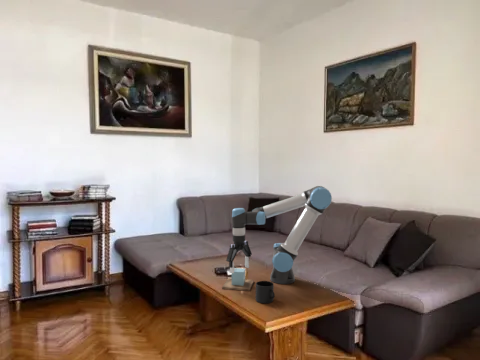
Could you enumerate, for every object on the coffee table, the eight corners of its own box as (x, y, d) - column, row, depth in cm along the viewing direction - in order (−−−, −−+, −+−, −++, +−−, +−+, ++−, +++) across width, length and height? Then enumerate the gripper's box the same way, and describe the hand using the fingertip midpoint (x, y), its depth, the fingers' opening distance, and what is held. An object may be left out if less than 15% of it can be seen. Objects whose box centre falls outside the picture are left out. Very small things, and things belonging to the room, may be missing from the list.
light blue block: (245, 281, 225) (245, 267, 224) (243, 285, 218) (243, 271, 217) (233, 281, 226) (233, 267, 225) (231, 284, 219) (231, 270, 218)
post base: (253, 281, 228) (253, 270, 228) (249, 290, 212) (249, 278, 212) (228, 280, 231) (228, 268, 231) (222, 288, 215) (222, 276, 215)
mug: (267, 306, 190) (268, 289, 189) (251, 299, 199) (252, 283, 198) (280, 302, 196) (280, 285, 196) (264, 295, 205) (264, 279, 205)
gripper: (247, 230, 232) (248, 264, 233) (219, 237, 213) (220, 274, 214) (256, 231, 227) (257, 266, 228) (229, 239, 208) (230, 276, 209)
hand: (239, 270), depth 221 cm, fingers open, 13 cm apart
